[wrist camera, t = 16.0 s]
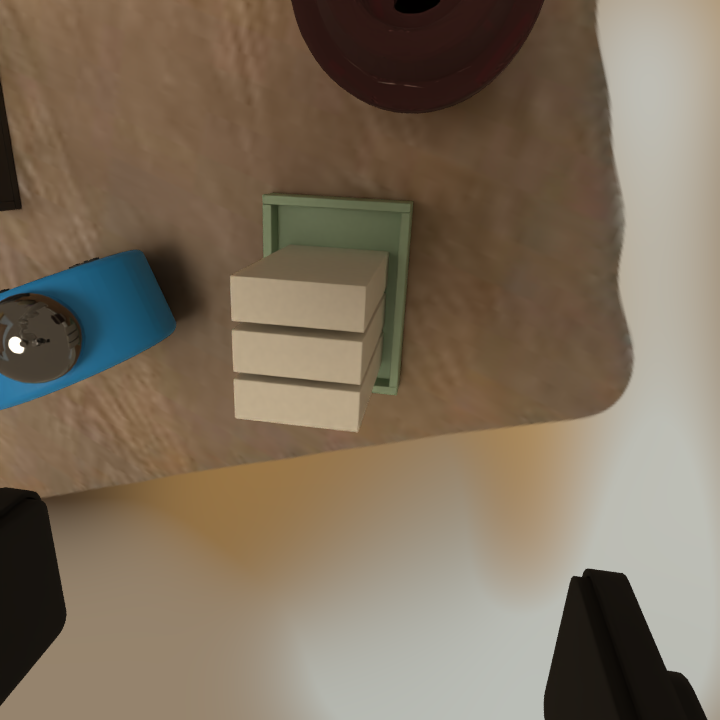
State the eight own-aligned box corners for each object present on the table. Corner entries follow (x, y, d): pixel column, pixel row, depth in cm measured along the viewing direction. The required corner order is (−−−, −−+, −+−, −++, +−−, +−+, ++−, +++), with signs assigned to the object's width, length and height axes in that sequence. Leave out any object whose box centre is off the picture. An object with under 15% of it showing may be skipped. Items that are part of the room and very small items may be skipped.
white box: (289, 244, 38) (229, 275, 28) (389, 251, 37) (366, 286, 27) (289, 278, 39) (231, 321, 28) (387, 286, 38) (364, 333, 27)
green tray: (272, 192, 37) (262, 194, 35) (413, 201, 36) (411, 203, 34) (273, 371, 42) (265, 381, 40) (399, 384, 41) (396, 395, 39)
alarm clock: (72, 359, 44) (-101, 451, 30) (34, 288, 43) (-168, 351, 29) (210, 312, 41) (86, 390, 27) (174, 233, 39) (23, 273, 25)
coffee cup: (395, -95, 31) (350, -305, 17) (547, -8, 31) (627, -144, 17) (320, 81, 34) (233, 28, 21) (457, 157, 35) (463, 155, 21)
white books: (288, 285, 39) (231, 329, 29) (386, 293, 38) (362, 342, 28) (288, 353, 41) (234, 418, 30) (381, 363, 40) (358, 432, 29)
